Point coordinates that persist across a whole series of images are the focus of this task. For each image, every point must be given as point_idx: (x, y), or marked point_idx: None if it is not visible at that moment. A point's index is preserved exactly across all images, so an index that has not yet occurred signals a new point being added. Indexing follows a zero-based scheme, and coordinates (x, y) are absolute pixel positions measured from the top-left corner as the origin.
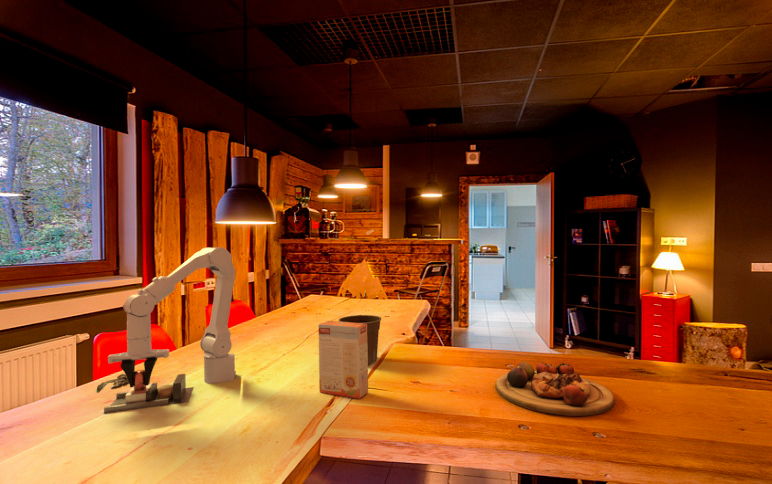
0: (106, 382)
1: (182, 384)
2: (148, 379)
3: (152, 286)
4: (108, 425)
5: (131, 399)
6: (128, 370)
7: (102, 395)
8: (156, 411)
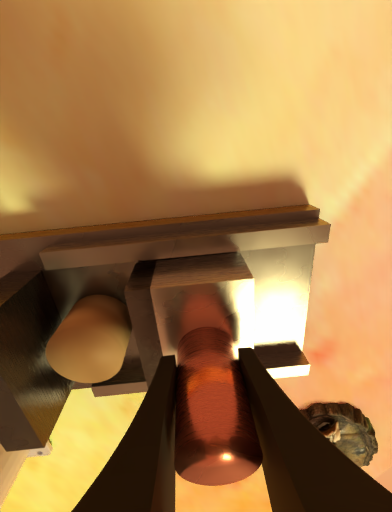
0: (357, 463)
1: None
2: (151, 387)
3: None
4: (267, 104)
5: (220, 269)
6: (305, 462)
7: (350, 398)
8: (101, 217)
